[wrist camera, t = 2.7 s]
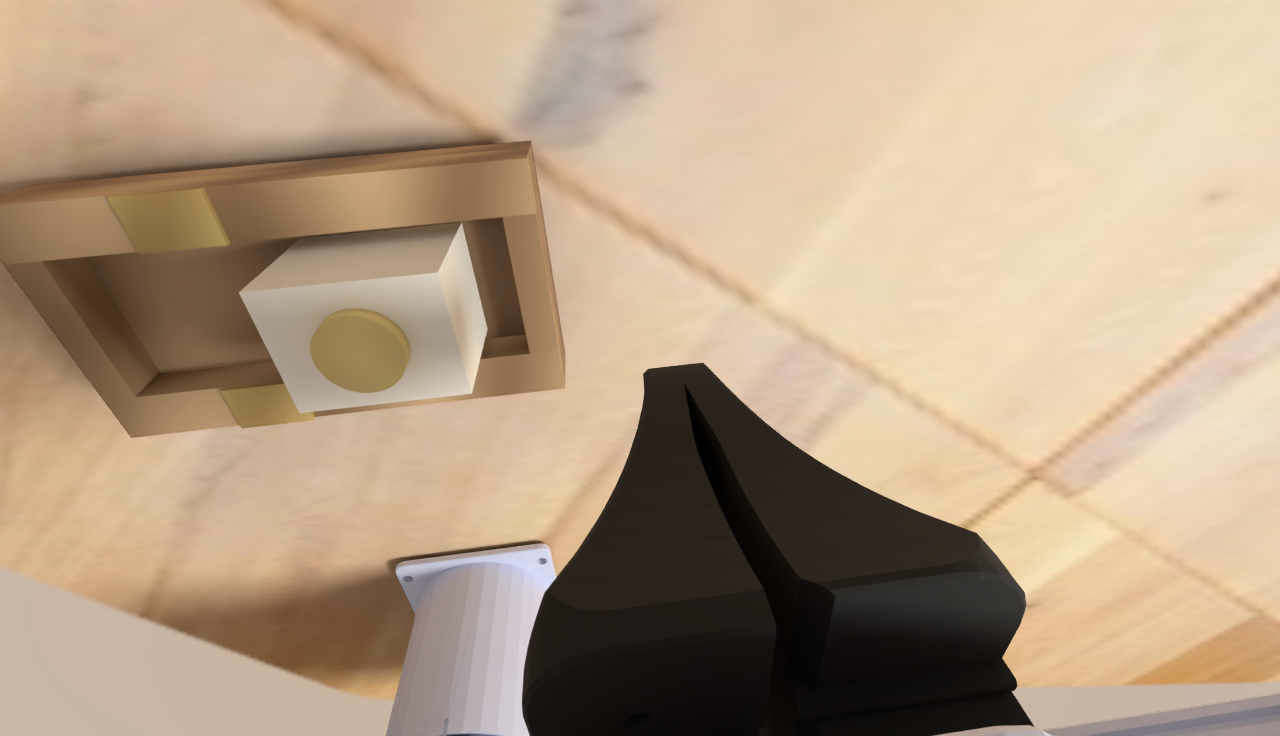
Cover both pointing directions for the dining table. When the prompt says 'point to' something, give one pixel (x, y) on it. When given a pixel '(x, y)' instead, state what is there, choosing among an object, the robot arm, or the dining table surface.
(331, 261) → the block
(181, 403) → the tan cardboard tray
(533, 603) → the robot arm
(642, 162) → the dining table surface
